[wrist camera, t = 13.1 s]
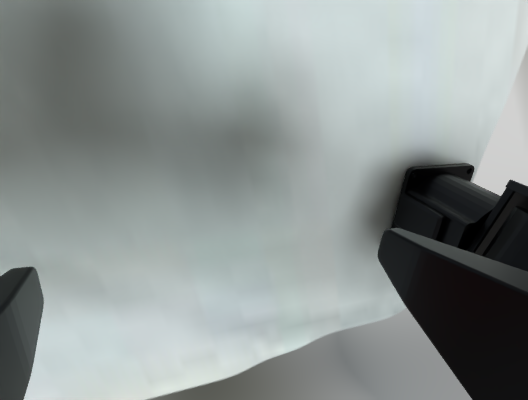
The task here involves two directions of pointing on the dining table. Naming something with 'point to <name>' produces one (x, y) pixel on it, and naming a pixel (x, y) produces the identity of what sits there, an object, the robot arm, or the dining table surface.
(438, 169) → the robot arm
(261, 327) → the dining table surface
